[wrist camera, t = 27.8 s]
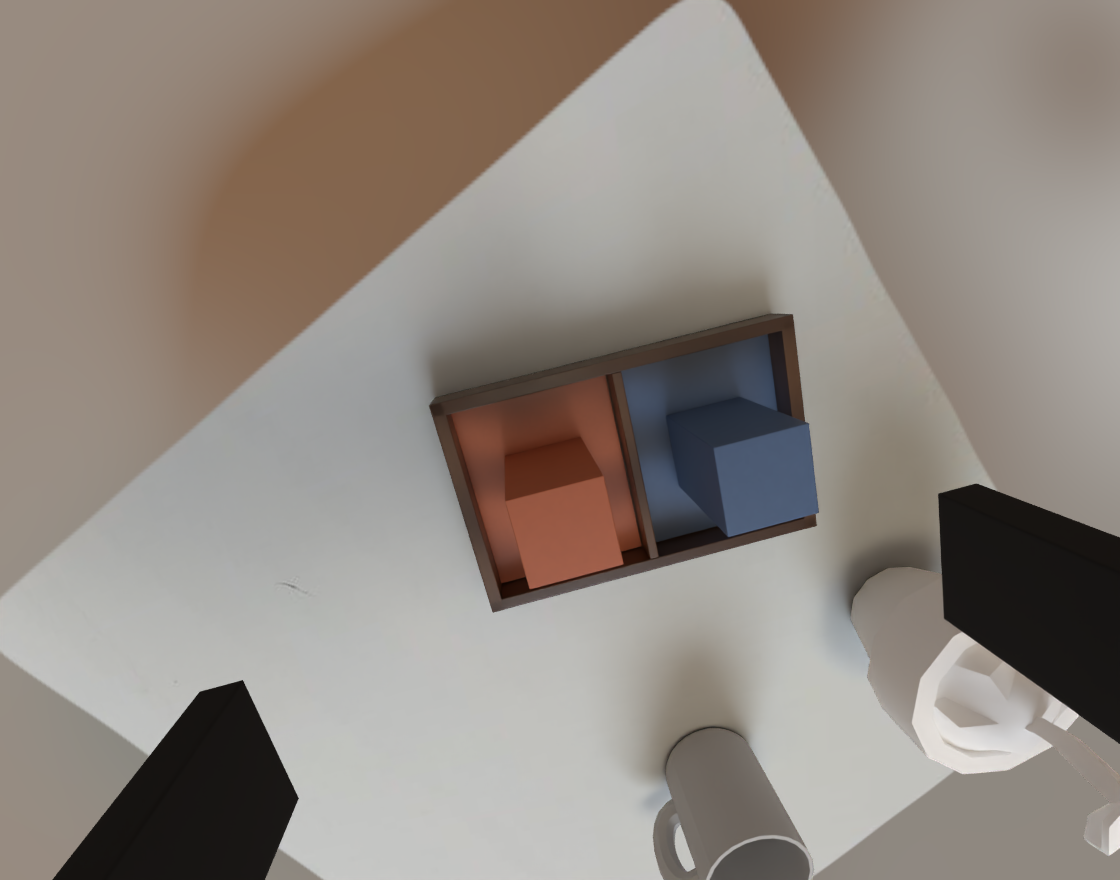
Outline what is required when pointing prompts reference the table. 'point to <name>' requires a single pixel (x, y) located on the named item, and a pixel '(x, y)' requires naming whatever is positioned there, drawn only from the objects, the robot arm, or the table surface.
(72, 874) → the robot arm
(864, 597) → the potted plant
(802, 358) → the table surface
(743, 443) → the blue bar
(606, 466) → the tray
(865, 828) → the table surface
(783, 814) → the cup
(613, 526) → the terracotta bar
